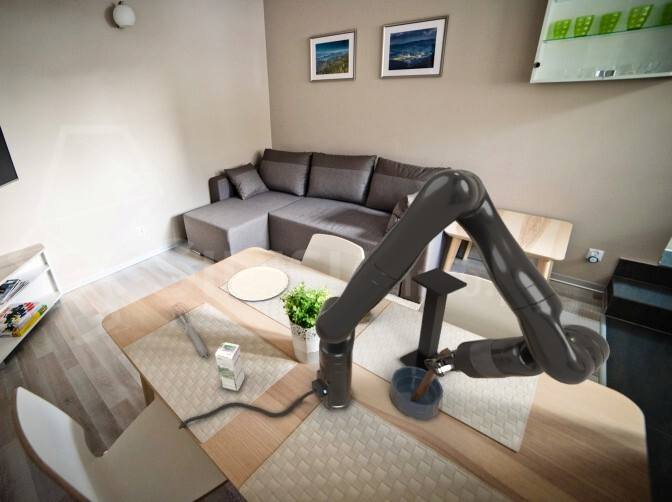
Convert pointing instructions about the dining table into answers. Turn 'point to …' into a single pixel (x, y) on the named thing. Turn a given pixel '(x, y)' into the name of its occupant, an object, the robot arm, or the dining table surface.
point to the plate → (258, 283)
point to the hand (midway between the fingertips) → (430, 362)
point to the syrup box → (230, 366)
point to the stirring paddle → (427, 380)
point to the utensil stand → (432, 314)
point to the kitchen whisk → (193, 335)
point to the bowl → (405, 387)
